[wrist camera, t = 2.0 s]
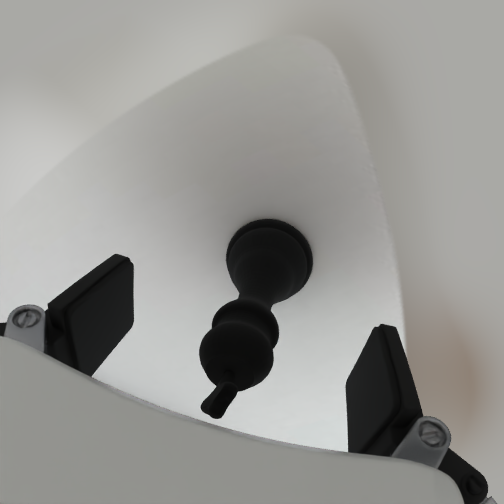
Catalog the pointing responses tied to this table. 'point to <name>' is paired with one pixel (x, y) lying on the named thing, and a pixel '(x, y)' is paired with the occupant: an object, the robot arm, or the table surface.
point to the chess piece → (252, 308)
